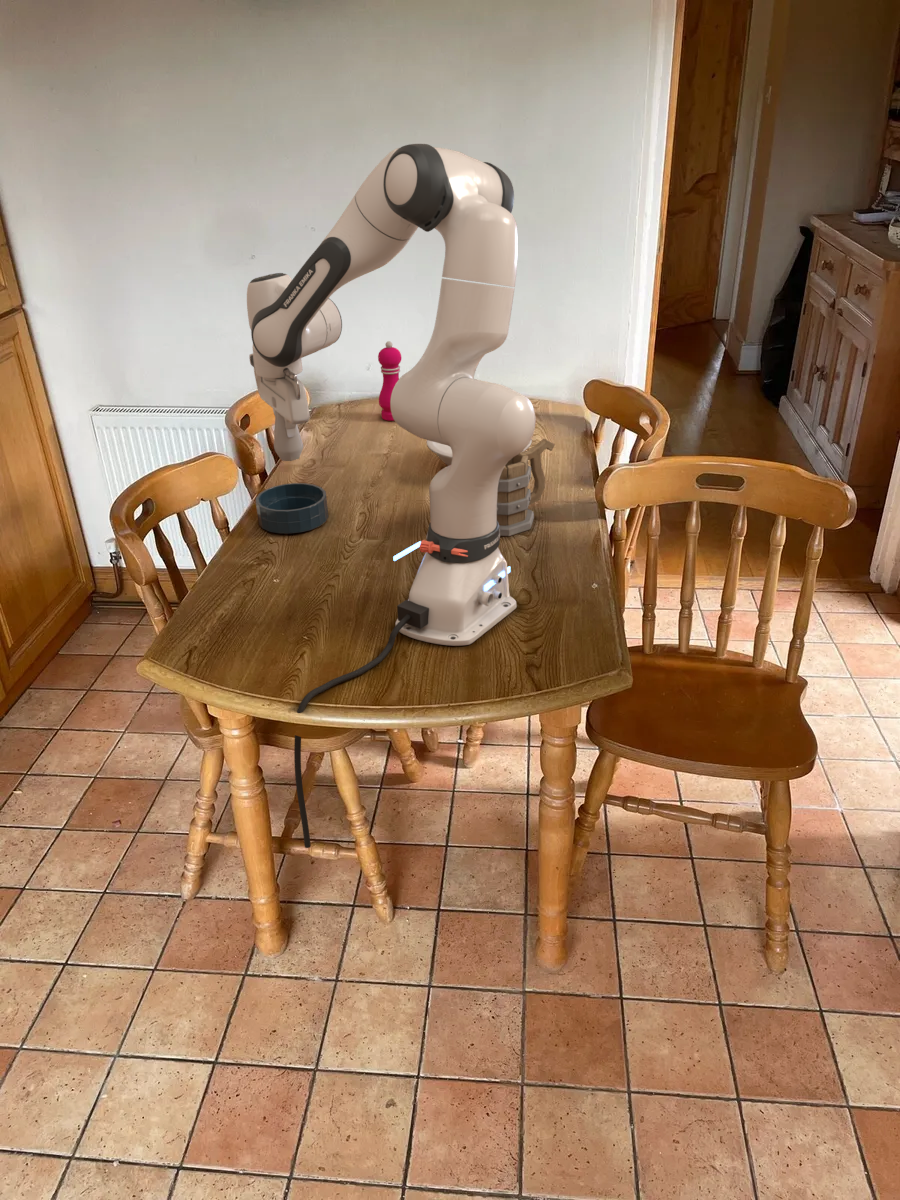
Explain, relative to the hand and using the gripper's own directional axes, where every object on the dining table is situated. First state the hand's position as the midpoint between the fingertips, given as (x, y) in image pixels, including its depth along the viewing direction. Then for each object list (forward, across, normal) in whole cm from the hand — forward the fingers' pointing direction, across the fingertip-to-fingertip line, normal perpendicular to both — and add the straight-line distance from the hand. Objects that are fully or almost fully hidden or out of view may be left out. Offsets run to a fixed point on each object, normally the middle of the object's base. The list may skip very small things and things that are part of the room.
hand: (287, 432), depth 182 cm
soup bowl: (+19, +5, -46) cm, 50 cm away
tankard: (+19, -23, -39) cm, 49 cm away
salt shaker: (+5, 0, 0) cm, 5 cm away
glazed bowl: (+19, 0, +1) cm, 19 cm away
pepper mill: (+9, +48, -44) cm, 65 cm away
